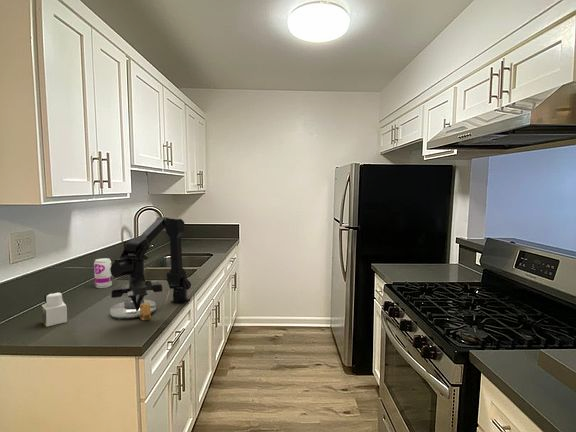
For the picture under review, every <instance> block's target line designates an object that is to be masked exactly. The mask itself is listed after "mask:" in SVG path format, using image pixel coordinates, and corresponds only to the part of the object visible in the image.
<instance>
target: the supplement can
mask: <svg viewBox="0 0 576 432" xmlns="http://www.w3.org/2000/svg"><path fill="white" fill-rule="evenodd" d="M111 266H112V261H111V258H109V257H108V258H107V257H105V258H96V259H94V263H93V268H94V269H93V270H94V271H93V273H94V287H95V288H97V289H106V288H110V287H111V286H112V285H113V276H112V274H111V272H110V268H111Z"/></svg>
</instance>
